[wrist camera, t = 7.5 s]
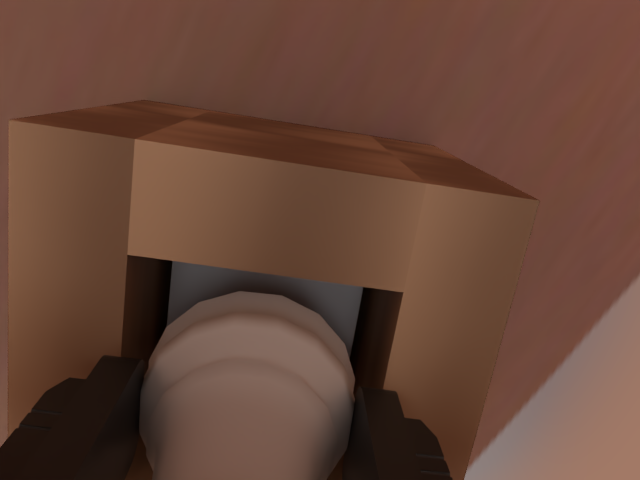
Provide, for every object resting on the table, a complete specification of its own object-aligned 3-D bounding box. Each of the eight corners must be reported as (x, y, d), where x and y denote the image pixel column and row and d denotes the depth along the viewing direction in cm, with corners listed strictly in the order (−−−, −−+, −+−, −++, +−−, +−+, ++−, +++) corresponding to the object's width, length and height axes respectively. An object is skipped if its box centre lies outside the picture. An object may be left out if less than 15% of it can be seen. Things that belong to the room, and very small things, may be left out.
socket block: (126, 364, 21) (7, 558, 13) (144, 100, 19) (9, 120, 10) (380, 395, 22) (431, 599, 13) (433, 145, 19) (539, 200, 11)
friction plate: (164, 390, 16) (159, 402, 15) (179, 224, 14) (175, 230, 14) (336, 410, 16) (337, 422, 15) (366, 250, 15) (369, 258, 14)
